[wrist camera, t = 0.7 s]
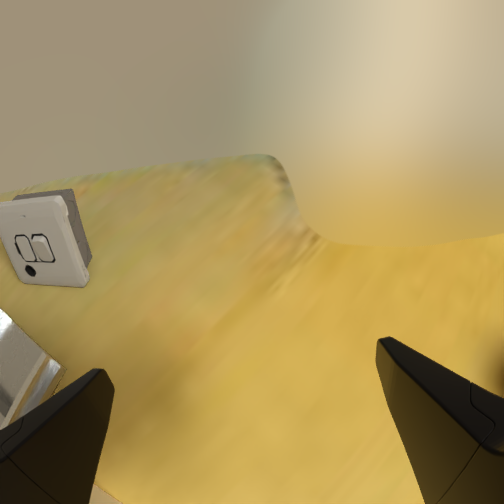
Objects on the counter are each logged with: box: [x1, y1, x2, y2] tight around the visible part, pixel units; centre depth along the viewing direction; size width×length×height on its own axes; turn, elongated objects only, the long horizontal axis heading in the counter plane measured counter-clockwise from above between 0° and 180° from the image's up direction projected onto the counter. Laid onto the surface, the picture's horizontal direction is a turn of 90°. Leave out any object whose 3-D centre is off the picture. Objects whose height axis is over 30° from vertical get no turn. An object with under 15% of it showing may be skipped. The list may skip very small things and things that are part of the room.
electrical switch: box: [0, 189, 92, 287], centre depth 24 cm, size 9×5×9 cm, turn 91°
